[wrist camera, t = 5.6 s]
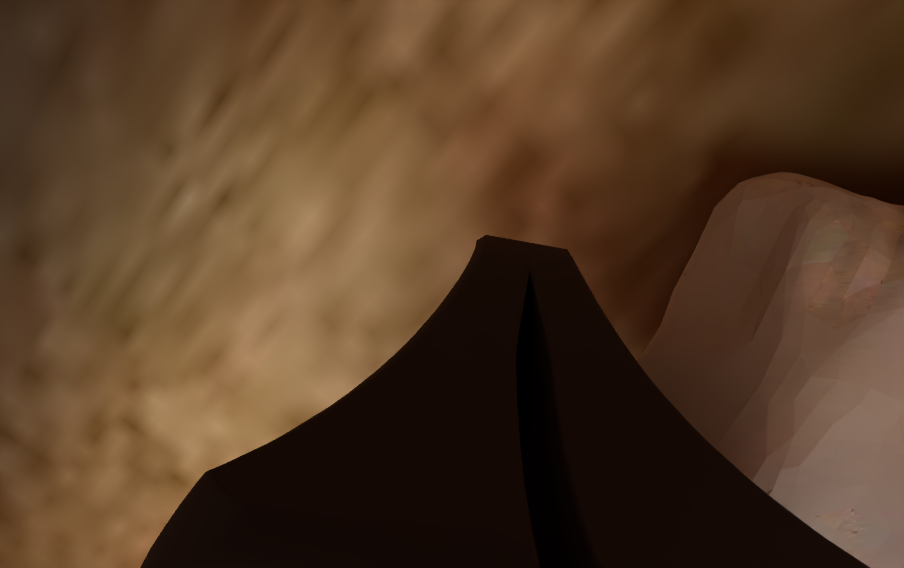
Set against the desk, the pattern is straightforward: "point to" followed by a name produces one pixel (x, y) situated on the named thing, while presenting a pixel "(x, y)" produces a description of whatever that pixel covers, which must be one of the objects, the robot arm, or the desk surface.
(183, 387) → the desk surface
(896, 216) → the ceramic sculpture
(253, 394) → the desk surface
